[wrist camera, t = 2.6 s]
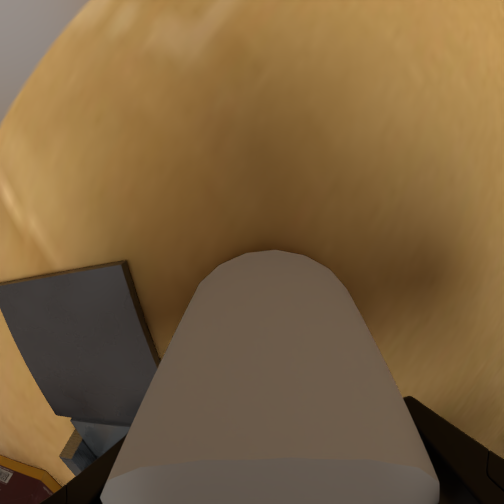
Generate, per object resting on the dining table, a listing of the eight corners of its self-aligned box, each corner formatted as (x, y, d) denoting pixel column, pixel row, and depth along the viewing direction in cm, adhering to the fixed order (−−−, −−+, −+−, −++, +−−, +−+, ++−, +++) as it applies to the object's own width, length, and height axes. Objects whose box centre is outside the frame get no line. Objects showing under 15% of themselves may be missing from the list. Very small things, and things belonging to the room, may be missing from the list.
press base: (126, 260, 14) (96, 285, 11) (243, 528, 22) (241, 552, 19) (-2, 283, 15) (-33, 303, 12) (150, 521, 23) (144, 542, 20)
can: (297, 209, 13) (432, 503, 1) (375, 337, 15) (471, 561, 3) (158, 299, 14) (17, 530, 3) (249, 402, 16) (232, 615, 5)
